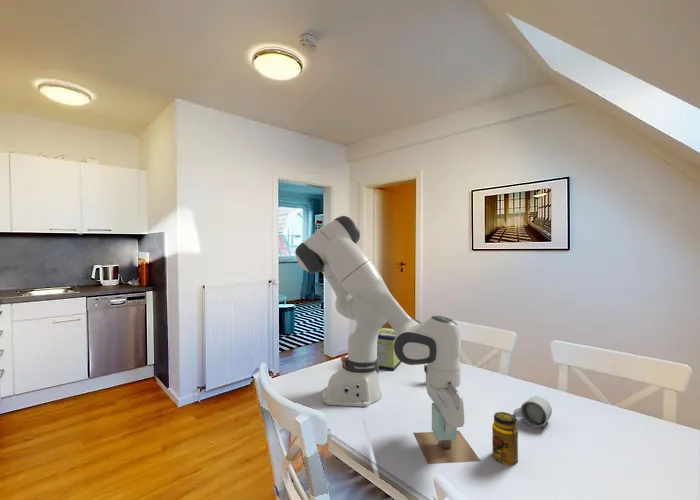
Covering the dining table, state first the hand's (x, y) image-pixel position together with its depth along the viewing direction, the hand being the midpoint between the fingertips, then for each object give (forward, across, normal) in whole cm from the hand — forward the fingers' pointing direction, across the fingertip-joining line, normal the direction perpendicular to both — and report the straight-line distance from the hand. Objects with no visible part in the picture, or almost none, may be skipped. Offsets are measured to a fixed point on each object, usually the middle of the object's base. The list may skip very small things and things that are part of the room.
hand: (443, 425), depth 91 cm
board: (+7, 0, 0) cm, 7 cm away
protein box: (+7, +67, +3) cm, 68 cm away
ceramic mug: (+7, +13, -34) cm, 37 cm away
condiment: (+7, -5, -15) cm, 17 cm away
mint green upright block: (+2, 0, 0) cm, 3 cm away
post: (+6, 0, 0) cm, 6 cm away
